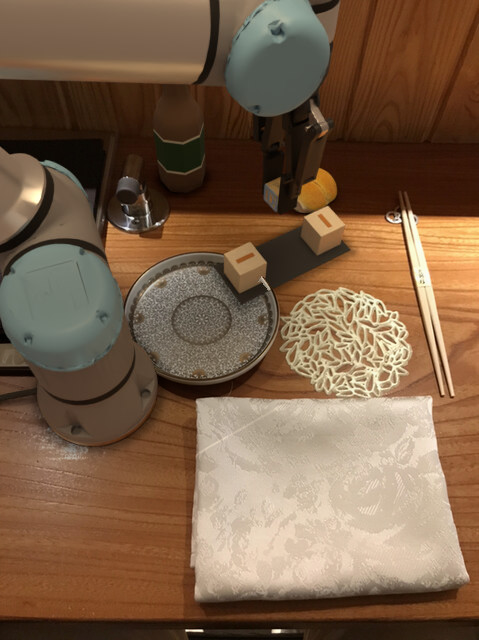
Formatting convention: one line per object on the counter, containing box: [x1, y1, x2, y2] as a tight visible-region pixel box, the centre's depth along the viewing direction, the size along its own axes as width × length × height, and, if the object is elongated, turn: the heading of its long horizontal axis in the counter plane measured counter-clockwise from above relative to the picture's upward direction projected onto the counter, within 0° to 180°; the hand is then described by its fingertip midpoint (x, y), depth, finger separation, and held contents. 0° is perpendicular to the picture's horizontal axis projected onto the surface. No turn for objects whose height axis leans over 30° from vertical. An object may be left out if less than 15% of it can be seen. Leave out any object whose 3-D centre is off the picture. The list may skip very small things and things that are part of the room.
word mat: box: [213, 224, 352, 305], centre depth 86 cm, size 20×8×1 cm, turn 121°
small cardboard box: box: [223, 241, 267, 293], centre depth 82 cm, size 4×4×5 cm
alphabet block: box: [263, 177, 281, 213], centre depth 76 cm, size 3×3×3 cm
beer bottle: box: [152, 84, 206, 194], centre depth 85 cm, size 8×8×24 cm
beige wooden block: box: [301, 205, 346, 255], centre depth 86 cm, size 4×4×5 cm
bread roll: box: [293, 167, 338, 214], centre depth 92 cm, size 8×9×4 cm
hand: (278, 200), depth 77 cm, fingers closed on alphabet block, 3 cm apart
